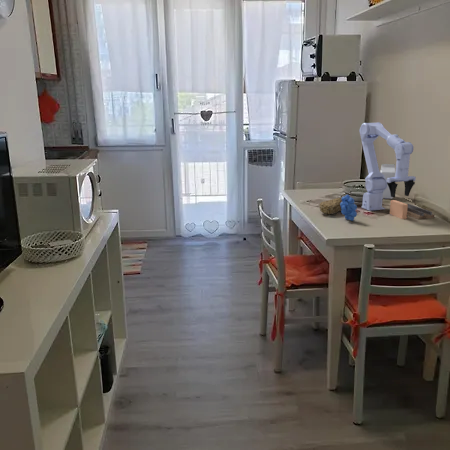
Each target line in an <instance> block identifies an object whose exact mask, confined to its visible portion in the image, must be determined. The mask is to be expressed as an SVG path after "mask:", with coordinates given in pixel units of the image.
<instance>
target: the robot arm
mask: <svg viewBox="0 0 450 450" xmlns="http://www.w3.org/2000/svg"><path fill="white" fill-rule="evenodd" d="M359 135H360V140H361V144H362V149H363V153H364V154H363V155H364V158H365V159H364V160H365V163H366V168H367V173H368V175H366V177H365V178H364V179H365V185H364V186H365V189H366V191H367V192H364V193H363V195H362V205H361V208H362V209H364V210H367V211H369V212H370V211H371V212H372V211H379V210H386V207H383V199H384V198H383V192H384V190H385V189H386V188H387V184H388V186H389V189H390V193H391V197H393V198H395V197H396V190H397V187H398V185H399V184H398V183H399V182H400V183H401V182H404V183H403V184H404V196H406V197H409V196H410V193H411V191H412V188H413V187H414V186H415V185H416V181H417V180H416V176H414V175H410V176H409V169H410V160H411V159H410V158H411V154H413V152H414V144H413V143H412V142H410V141H405V140H404V139H402V138H401V137H399V135H398V134H397V133H396V134H395V133H394V134H392V133H390V132H389V131H388V130H387V129H386V128H385V127H384V125H383V124H382V123H381V122H380V121H378V122H363V123H362V124H361V125H360V127H359ZM379 137H381V138H382V139H384V140H385V141H386V144H387V145H388V146H389V147H391V149H393V150H394V152H395V159H396V162H395V163H396V164H395V177H392V178H387V181H386V179H385V177H384V175H383V174H382V173H381V172H380V167H379V163H378V159H377V154H376V150H375V149H376V148H375V145H374V142H375V141H376V140H377V139H378V138H379Z"/></svg>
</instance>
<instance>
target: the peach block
mask: <svg viewBox="0 0 450 450" xmlns="http://www.w3.org/2000/svg"><path fill="white" fill-rule="evenodd" d="M389 204H390V205H389V214H390V215H392V216H394V217H396V218H399V219H401V220H406V219H408V217H407V216H408V215H407V208H408V204H409V203H404V202H401V201H399V200H397V199H395V200H394V199H392V200H390V203H389Z"/></svg>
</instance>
